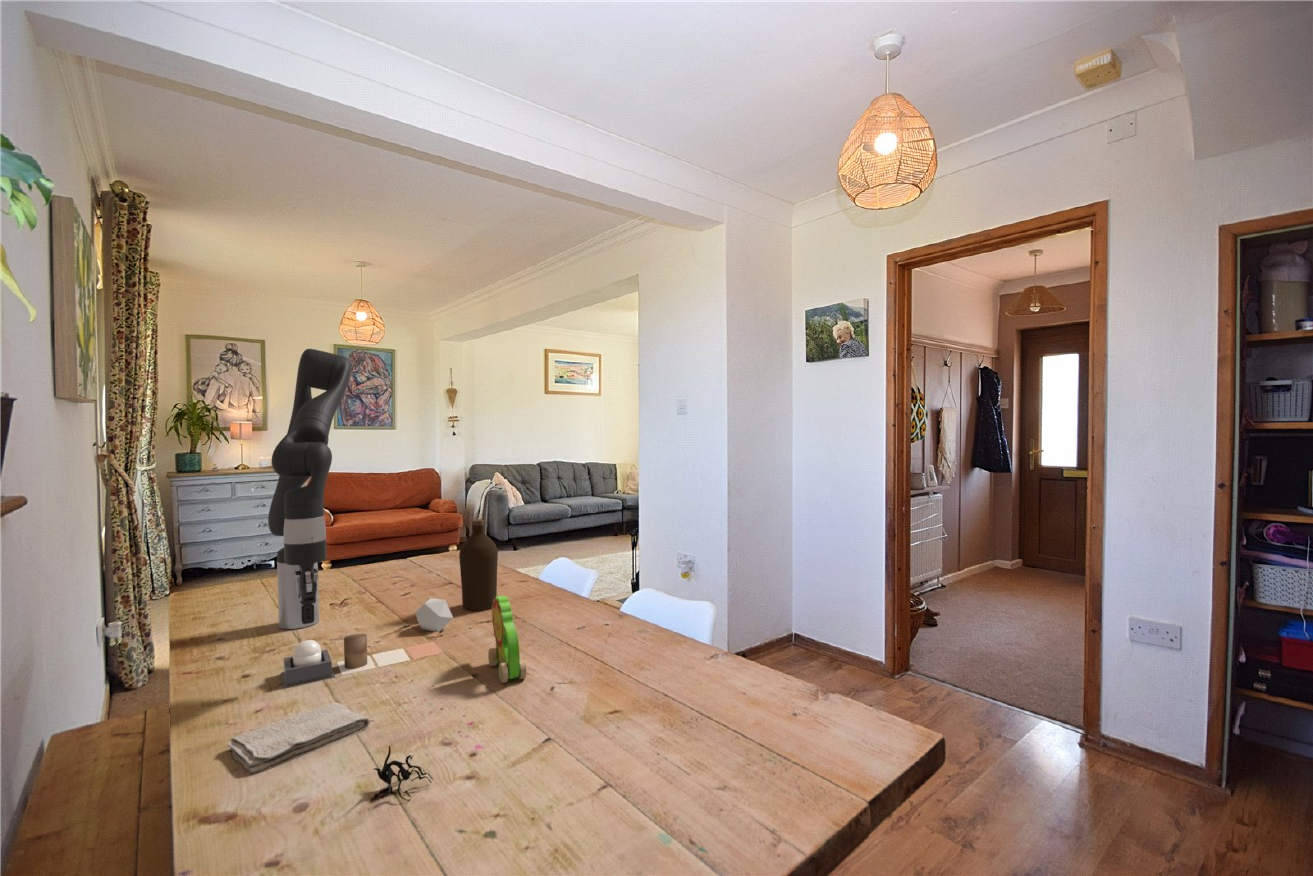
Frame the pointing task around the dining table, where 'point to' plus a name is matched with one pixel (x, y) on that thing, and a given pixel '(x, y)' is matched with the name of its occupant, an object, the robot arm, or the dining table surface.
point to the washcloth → (295, 736)
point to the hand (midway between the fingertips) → (307, 622)
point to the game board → (394, 657)
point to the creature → (388, 772)
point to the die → (434, 615)
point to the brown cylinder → (355, 651)
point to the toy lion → (505, 642)
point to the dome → (306, 653)
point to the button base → (307, 671)
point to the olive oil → (478, 569)
